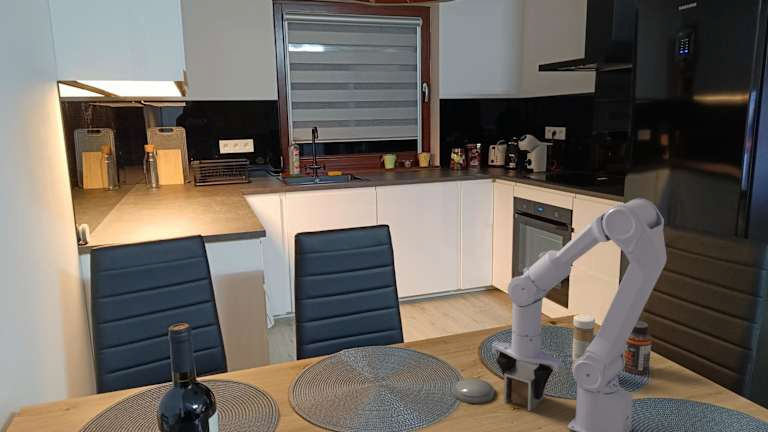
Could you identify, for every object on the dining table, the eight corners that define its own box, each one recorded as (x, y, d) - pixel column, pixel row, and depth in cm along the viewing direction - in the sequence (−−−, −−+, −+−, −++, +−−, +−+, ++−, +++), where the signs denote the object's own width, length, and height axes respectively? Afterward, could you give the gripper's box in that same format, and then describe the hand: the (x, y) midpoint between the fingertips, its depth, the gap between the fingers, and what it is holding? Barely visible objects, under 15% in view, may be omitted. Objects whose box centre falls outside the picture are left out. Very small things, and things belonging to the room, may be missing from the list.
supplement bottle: (614, 366, 126) (617, 321, 124) (633, 361, 128) (636, 316, 126) (636, 377, 121) (639, 330, 119) (654, 372, 123) (658, 325, 121)
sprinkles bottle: (596, 373, 123) (599, 318, 120) (583, 379, 120) (586, 322, 118) (579, 366, 127) (582, 312, 124) (566, 371, 124) (569, 316, 122)
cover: (544, 397, 113) (545, 368, 112) (529, 411, 108) (530, 381, 107) (519, 388, 117) (519, 361, 116) (503, 402, 112) (504, 373, 111)
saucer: (501, 390, 116) (501, 385, 116) (480, 408, 110) (480, 402, 109) (465, 378, 122) (465, 373, 122) (443, 394, 115) (443, 389, 115)
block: (537, 398, 113) (537, 376, 112) (528, 407, 110) (529, 384, 109) (520, 393, 115) (521, 371, 114) (511, 401, 112) (511, 379, 111)
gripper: (568, 333, 108) (566, 395, 111) (503, 317, 117) (502, 375, 120) (554, 345, 103) (552, 410, 105) (487, 327, 112) (486, 387, 115)
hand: (524, 392), depth 112 cm, fingers closed on cover, 6 cm apart
